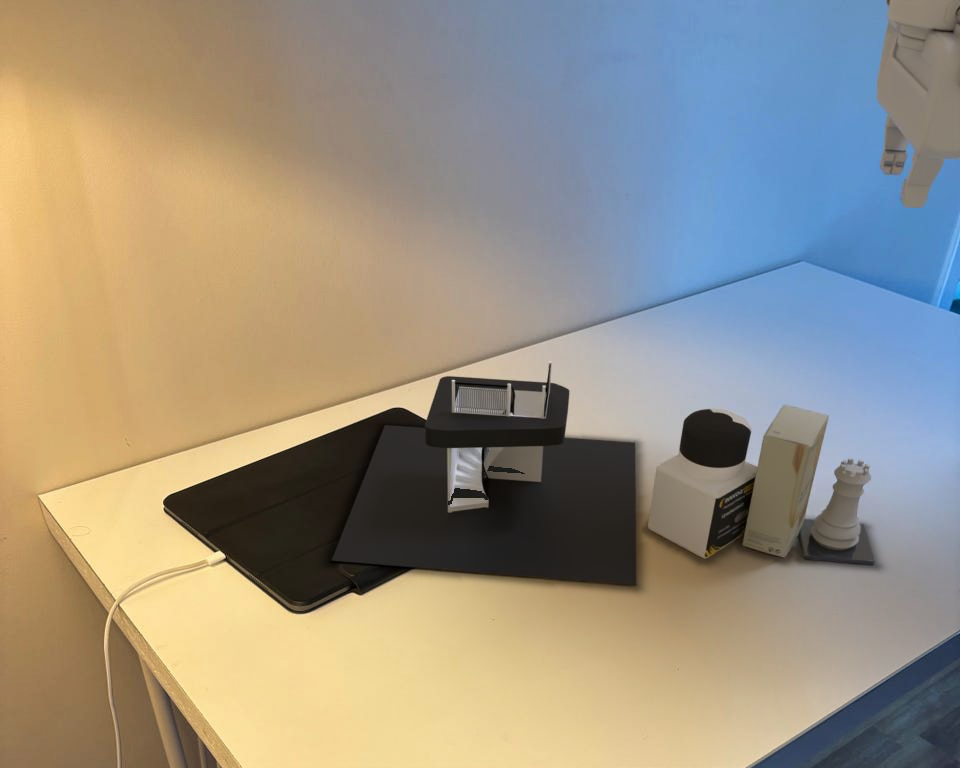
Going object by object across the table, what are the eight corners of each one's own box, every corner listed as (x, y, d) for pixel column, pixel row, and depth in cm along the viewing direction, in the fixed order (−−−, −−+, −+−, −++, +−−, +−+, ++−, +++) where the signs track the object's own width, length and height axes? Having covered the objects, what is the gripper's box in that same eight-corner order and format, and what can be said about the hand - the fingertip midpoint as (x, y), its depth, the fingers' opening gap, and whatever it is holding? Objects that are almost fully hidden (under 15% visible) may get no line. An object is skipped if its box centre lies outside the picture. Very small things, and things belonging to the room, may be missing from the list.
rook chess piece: (829, 520, 97) (850, 448, 92) (867, 541, 94) (891, 468, 89) (799, 535, 95) (819, 462, 90) (837, 557, 92) (860, 483, 87)
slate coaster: (862, 527, 97) (864, 523, 96) (874, 565, 92) (875, 561, 92) (796, 521, 97) (797, 518, 97) (803, 559, 92) (804, 555, 92)
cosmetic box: (785, 560, 92) (811, 448, 84) (740, 547, 94) (761, 436, 85) (804, 523, 96) (831, 412, 88) (761, 511, 98) (783, 401, 89)
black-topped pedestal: (331, 561, 91) (318, 431, 82) (384, 426, 111) (378, 310, 102) (636, 586, 89) (655, 455, 80) (635, 443, 109) (650, 326, 100)
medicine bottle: (704, 561, 92) (727, 446, 84) (645, 529, 96) (662, 417, 88) (749, 532, 96) (775, 420, 88) (691, 502, 100) (710, 393, 92)
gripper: (1035, 19, 67) (967, 230, 76) (964, -20, 82) (914, 158, 91) (939, 16, 68) (883, 225, 76) (886, -23, 83) (844, 154, 92)
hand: (899, 188), depth 84 cm, fingers open, 8 cm apart
